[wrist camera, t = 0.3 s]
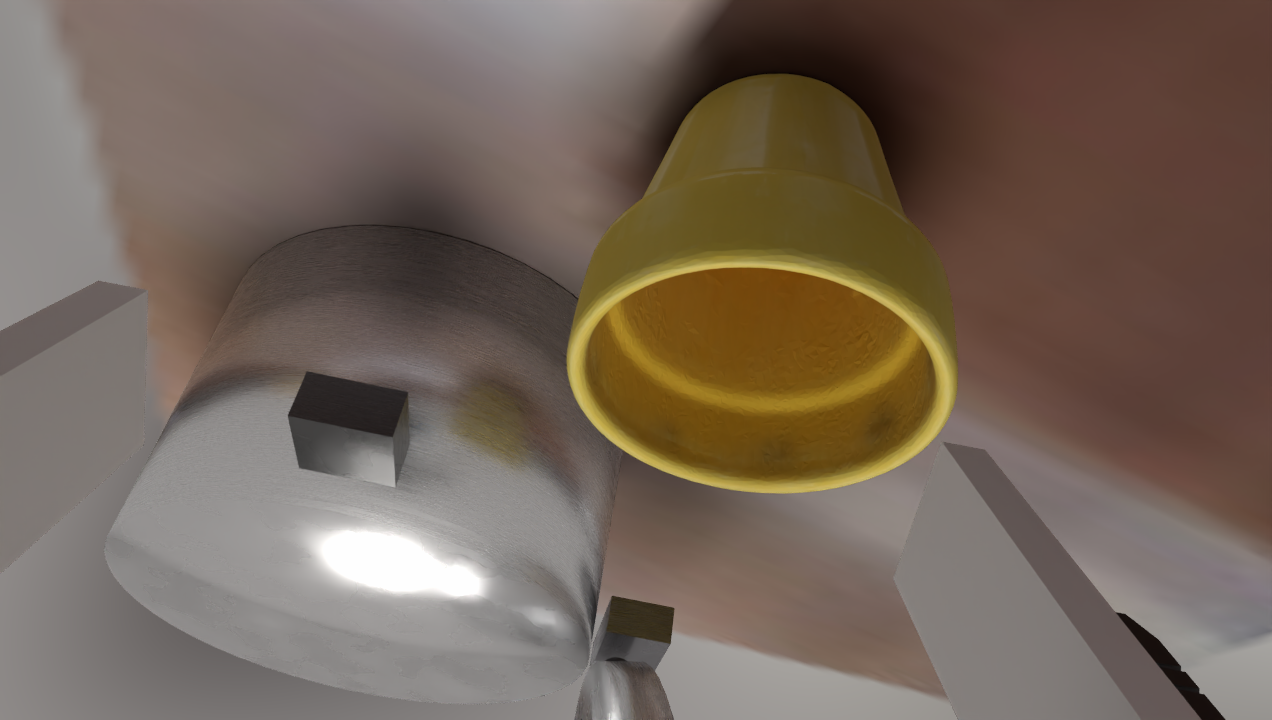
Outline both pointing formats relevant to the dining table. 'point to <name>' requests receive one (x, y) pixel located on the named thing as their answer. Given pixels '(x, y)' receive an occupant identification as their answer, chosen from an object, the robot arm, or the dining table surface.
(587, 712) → the cooker lid
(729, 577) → the dining table surface
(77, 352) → the robot arm
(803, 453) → the plant pot
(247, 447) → the pressure cooker
